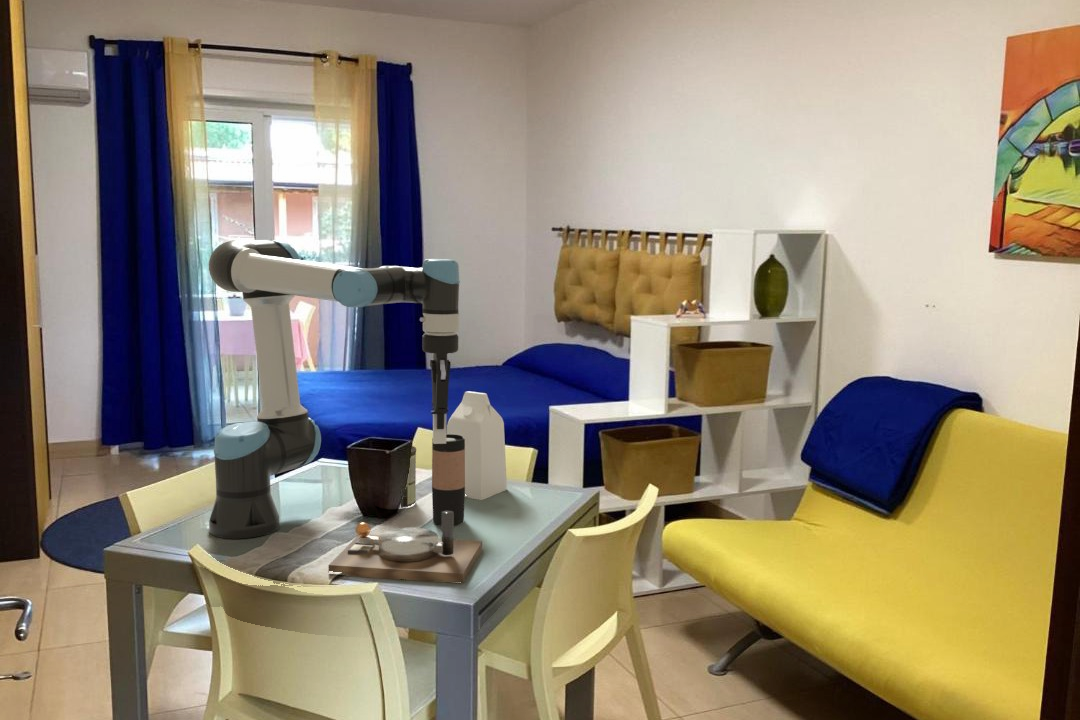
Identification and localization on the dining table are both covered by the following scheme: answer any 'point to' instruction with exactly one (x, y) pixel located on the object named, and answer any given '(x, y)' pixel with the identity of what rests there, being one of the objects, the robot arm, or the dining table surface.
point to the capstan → (411, 541)
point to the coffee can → (410, 482)
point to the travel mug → (448, 478)
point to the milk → (480, 445)
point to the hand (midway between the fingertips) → (439, 442)
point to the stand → (407, 563)
